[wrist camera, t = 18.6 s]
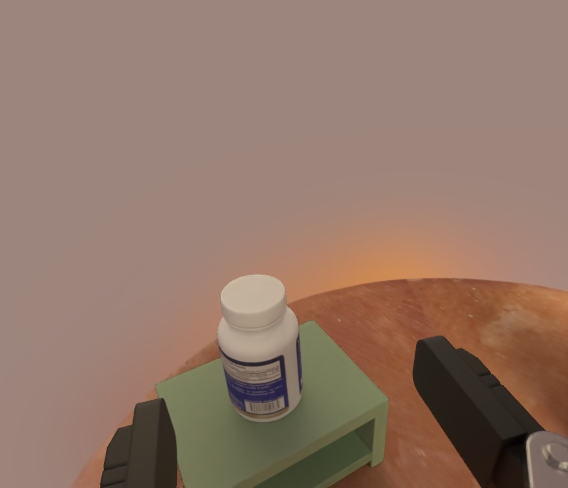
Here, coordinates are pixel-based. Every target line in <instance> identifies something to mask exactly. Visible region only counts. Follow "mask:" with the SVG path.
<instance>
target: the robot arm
mask: <svg viewBox="0 0 568 488" xmlns="http://www.w3.org/2000/svg"><path fill="white" fill-rule="evenodd" d="M413 380H414V384H415V387H416V389H417V391H418V393H419V395H420V396H421V398H422V399H423V401H424V402H425V404H426V405H427V407H428V408H429V410H430V411H431V413H432V414H433V416H434V417H435V419H436V420H437V422H438V423H439V425H440V426H441V428H442V429H443V431H444V432H445V434H446V435H447V437H448V438H449V440H450V441H451V443H452V444H453V446H454V447H455V449H456V450H457V452H458V453H459V455H460V456H461V458H462V459H463V461H464V462H465V464H466V465H467V467H468V468H469V470H470V471H471V473H472V474H473V476H474V477H475V479H476V480H477V482H478V483H479V485H480V486H481V488H568V438H566V437H564V436H562V435H560V434H557V433H554V432H549V431H546V430H545V429H544V428H542V427H541V426H540V425H539V423H538V422H537V421H536V420H535V419H534V418H533V417H532V416H531V415H530V414H529V413H528V412H527V411H526V409H525V408H524V407H523V406H522V405H521V404H520V403H519V402H518V401H517V400H516V399H515V398H514V396H513V395H512V394H511V393H510V392H509V391H508V390H507V389H506V388H505V387H504V386H503V385H501V384H500V381H499V380H498V379H497V378H496V377H495V376H494V375H493V374H491V373H490V371H489V370H488V368H487V367H486V366H485V365H484V364H483V363H482V362H481V361H480V360H479V359H478V358H477V357H475V356H474V355H472V354H470V353H469V352H467V351H465V350H464V349H462V348H460V349H455V348H454V347H453V346H452V345H451V344H450V343H449V341H448V340H447V339H446V338H445V337H443V336H435V337H431V338H426V339H422V340H419V341H418V342H417V344H416V351H415V359H414V367H413ZM103 468H104V471H103V472H102V477H101V483H100V485H101V487H100V488H177V442H176V435H175V430H174V427H173V424H172V421H171V418H170V415H169V412H168V409H167V406H166V402H165V400H164V398H159V399H155V400H151V401H146V402H142V403H138V404H136V406H135V410H134V417H133V424H132V425H130V426H126V427H122V428H118V430H117V431H116V433H115V435H114V437H113V438H112V440H111V442H110V443H109V445H108V447H107V451H106V456H105V462H104V467H103Z"/></svg>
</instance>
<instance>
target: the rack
mask: <svg viewBox="0 0 568 488" xmlns="http://www.w3.org/2000/svg"><path fill="white" fill-rule="evenodd" d="M299 335H300V350H301V364H302V378H303V392H302V396H301V399H300V401H299V403H298V405H297V406H296V407H295V408H294V409H293V410H292V411H291V412H290V413H289V414H287V415H286V416H284V417H282V418H280V419H278V420H275V421H271V422H255V421H251V420H248V419H246V418H244V417H242V416H241V415H240V414H239V413H237V412H236V410H235V409H234V408H233V406H232V404H231V401H230V397H229V393H228V388H227V383H226V378H225V373H224V368H223V363H222V359H221V358H218V359H216V360H213V361H211V362H209V363H206V364H204V365H201V366H199V367H196V368H194V369H192V370H189V371H187V372H184V373H182V374H179V375H177V376H175V377H172V378H170V379H167V380H165V381H162V382H160V383H158V384H156V385H155V387H156V391H157V394H158V398H164V400H165V402H166V406H167V409H168V412H169V415H170V418H171V421H172V424H173V427H174V430H175V435H176V442H177V463H178V466H179V470H180V473H181V476H182V480H183V483H184V487H185V488H328V487H330V486H331V485H333V484H334V483H336V482H338V481H339V480H341V479H343V478H344V477H346V476H347V475H349V474H351V473H352V472H354V471H355V470H357V469H359V468H360V467H362V466H363V465H365V464H367V463H368V464H369V465H370V467H371V468H372V467H374V466H376V465H377V464H379V463H380V462H382V461H383V459H384V449H385V438H386V428H387V418H388V407H389V398H388V397H387V396H386V395H385V394H384V393H383V392H382V391H381V390H380V389H379V388H378V387H377V386H376V385H375V384H374V383H373V382H372V381H371V380H370V379H369V378H368V377H367V375H366V374H365V373H364V372H363V371H362V370H361V369H360V368H359V367H358V366H357V365H356V364H355V363H354V362H353V361H352V360H351V359H350V358H349V357H348V356H347V355H346V354H345V353H344V352H343V351H342V349H341V348H340V347H339V346H338V345H337V344H336V343H335V342H334V341H333V340H332V339H331V338H330V337H329V336H328V335H327V334H326V333H325V332H324V331H323V330H322V329H321V328H320V327H319V326H318V325H317V323H316V322H315V321H314V320H311V321H308V322H306V323H303V324H301V325H299Z"/></svg>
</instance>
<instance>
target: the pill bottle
mask: <svg viewBox="0 0 568 488" xmlns="http://www.w3.org/2000/svg"><path fill="white" fill-rule="evenodd" d="M220 299H221V307H222V314H223V317H222V319H221V321H220V323H219V325H218V329H217V338H218V344H219V349H220V354H221V359H222V363H223V368H224V373H225V378H226V383H227V388H228V393H229V397H230V401H231V404H232V406H233V408H234V409H235V410H236V412H237V413H239V414H240V415H241V416H242V417H244V418H246V419H248V420H251V421H255V422H271V421H275V420H278V419H280V418H282V417H284V416H286V415H287V414H289V413H290V412H291V411H292V410H293V409H294V408H295V407H296V406H297V405H298V403H299V401H300V399H301V396H302V392H303V378H302V364H301V350H300V335H299V325H298V321H297V318H296V316H295V314H294V313H293V311H292V310H291V309H290V308H289V307H287V301H286V291H285V288H284V285H283V284H282V282H280V281H279V280H278V279H276V278H274V277H272V276H268V275H259V274H255V275H247V276H243V277H240V278H237V279H235V280H233V281H231V282H230V283H228V284H227V285H226V286H225V287H224V289H223V290H222V292H221V296H220Z"/></svg>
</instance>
